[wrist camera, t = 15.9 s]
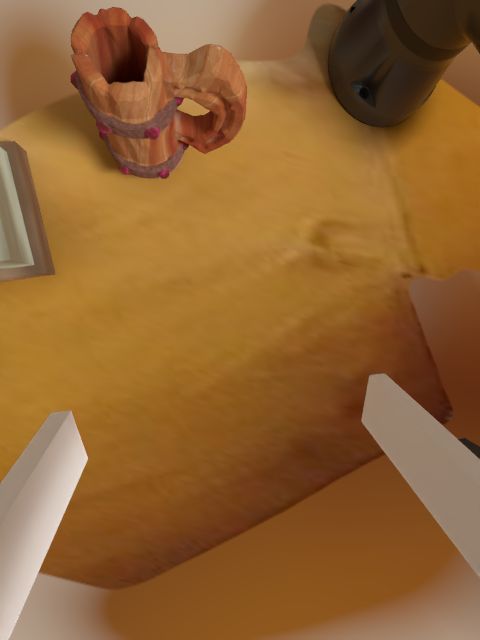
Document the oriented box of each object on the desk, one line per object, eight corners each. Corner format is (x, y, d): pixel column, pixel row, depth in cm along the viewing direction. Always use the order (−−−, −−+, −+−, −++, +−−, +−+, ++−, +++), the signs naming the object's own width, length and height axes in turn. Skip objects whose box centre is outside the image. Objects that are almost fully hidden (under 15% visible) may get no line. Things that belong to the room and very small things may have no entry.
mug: (107, 183, 33) (38, 88, 18) (108, 112, 32) (38, -45, 17) (228, 198, 35) (254, 125, 21) (231, 132, 35) (260, 9, 20)
